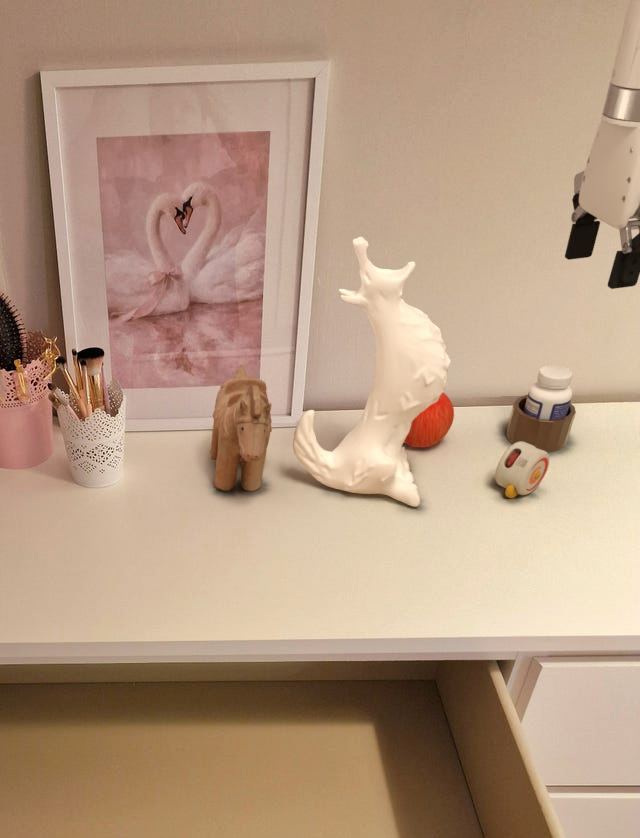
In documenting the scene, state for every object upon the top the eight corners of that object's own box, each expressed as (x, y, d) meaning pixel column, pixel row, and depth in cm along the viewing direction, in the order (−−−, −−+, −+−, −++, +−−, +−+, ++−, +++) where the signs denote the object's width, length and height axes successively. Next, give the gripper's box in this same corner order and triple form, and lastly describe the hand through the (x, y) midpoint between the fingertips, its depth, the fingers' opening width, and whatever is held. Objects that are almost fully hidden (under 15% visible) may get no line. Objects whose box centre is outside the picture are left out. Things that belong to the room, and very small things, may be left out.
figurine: (220, 522, 105) (221, 409, 95) (206, 448, 118) (206, 342, 108) (280, 518, 106) (287, 404, 95) (260, 445, 118) (265, 338, 108)
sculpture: (431, 509, 106) (483, 254, 85) (293, 511, 106) (312, 258, 86) (415, 460, 114) (459, 217, 94) (286, 462, 115) (302, 221, 95)
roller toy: (548, 487, 108) (560, 446, 104) (517, 506, 105) (529, 464, 101) (517, 473, 111) (528, 432, 107) (486, 491, 108) (497, 450, 104)
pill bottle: (560, 427, 118) (578, 364, 112) (559, 446, 114) (579, 383, 108) (518, 422, 119) (535, 360, 113) (517, 441, 115) (534, 378, 109)
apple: (390, 423, 121) (399, 368, 116) (450, 430, 119) (461, 375, 114) (383, 451, 116) (391, 396, 110) (445, 459, 114) (457, 403, 108)
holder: (549, 421, 120) (557, 391, 117) (576, 448, 114) (586, 417, 111) (496, 427, 119) (504, 397, 116) (522, 455, 114) (530, 424, 111)
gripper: (730, 117, 84) (672, 294, 96) (632, 84, 97) (591, 244, 108) (657, 125, 84) (607, 303, 95) (568, 91, 96) (533, 251, 108)
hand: (598, 271), depth 102 cm, fingers open, 9 cm apart
